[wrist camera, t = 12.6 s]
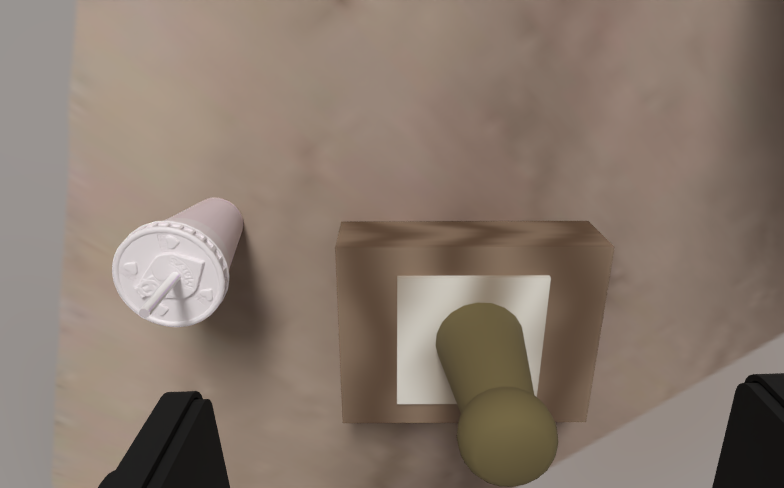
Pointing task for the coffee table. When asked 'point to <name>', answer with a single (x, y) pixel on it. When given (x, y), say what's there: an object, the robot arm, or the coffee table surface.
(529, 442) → the cork
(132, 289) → the smoothie
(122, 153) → the coffee table surface
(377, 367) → the pedestal
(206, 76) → the coffee table surface
